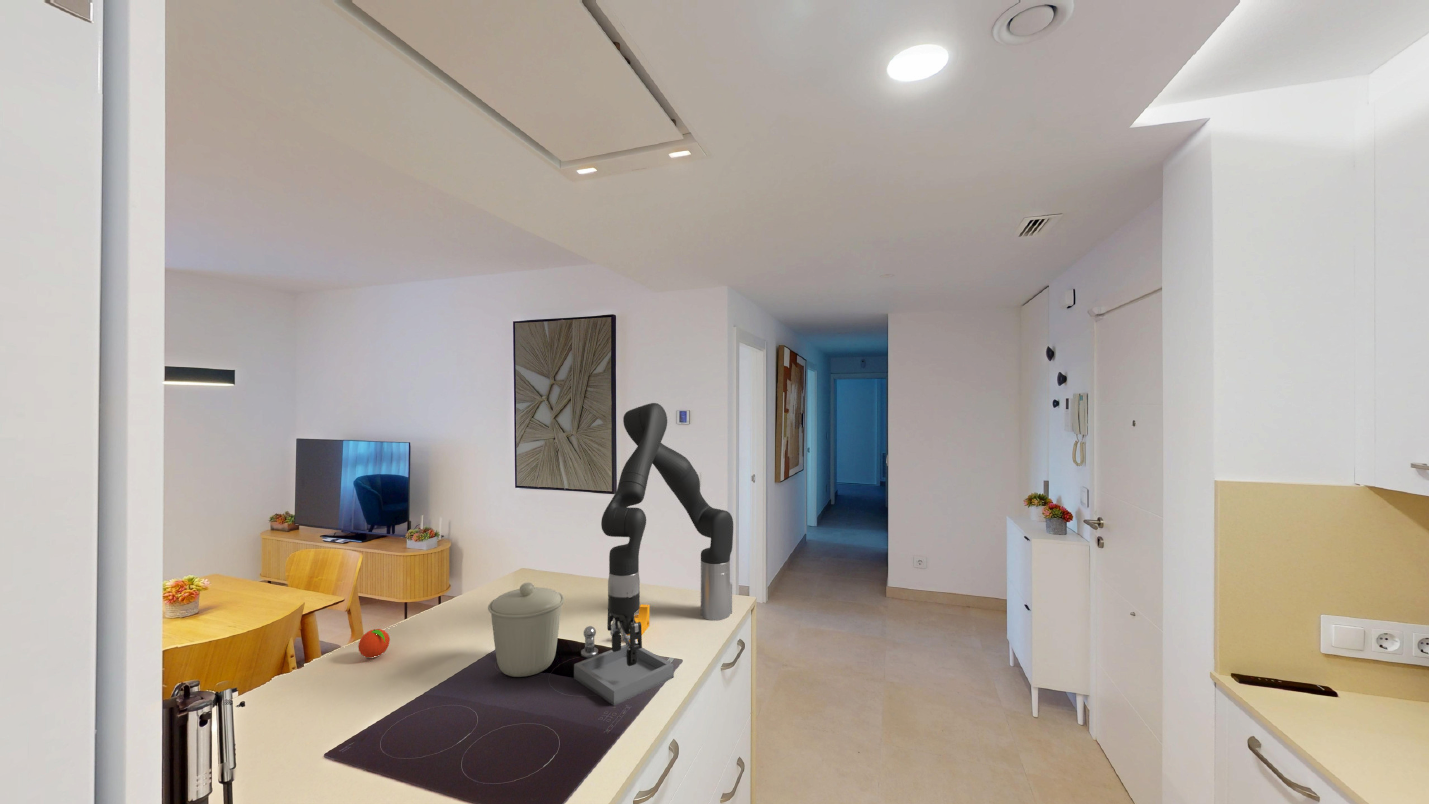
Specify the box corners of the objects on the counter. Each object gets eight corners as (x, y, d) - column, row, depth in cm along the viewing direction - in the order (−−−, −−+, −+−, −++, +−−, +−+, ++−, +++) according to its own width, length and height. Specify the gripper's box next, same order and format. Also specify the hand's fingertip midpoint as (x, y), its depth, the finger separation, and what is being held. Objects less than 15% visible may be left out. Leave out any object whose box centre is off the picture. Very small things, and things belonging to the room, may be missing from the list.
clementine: (398, 654, 140) (398, 627, 140) (371, 666, 134) (371, 637, 134) (378, 648, 144) (379, 622, 144) (352, 659, 137) (352, 632, 137)
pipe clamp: (635, 625, 159) (635, 603, 159) (649, 626, 158) (649, 604, 158) (620, 642, 147) (620, 619, 147) (635, 644, 146) (635, 620, 147)
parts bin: (631, 655, 140) (631, 641, 140) (673, 678, 128) (673, 664, 128) (574, 678, 128) (574, 664, 128) (614, 707, 116) (614, 691, 116)
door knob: (592, 648, 144) (592, 621, 144) (601, 653, 140) (601, 626, 140) (577, 653, 140) (578, 626, 140) (586, 659, 137) (586, 631, 137)
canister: (578, 656, 139) (578, 576, 139) (533, 691, 122) (533, 600, 122) (521, 646, 145) (521, 569, 145) (471, 678, 128) (471, 591, 128)
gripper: (597, 585, 131) (597, 650, 131) (622, 602, 120) (622, 674, 120) (625, 579, 136) (625, 642, 136) (651, 595, 124) (651, 665, 124)
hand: (623, 657), depth 128 cm, fingers open, 8 cm apart
